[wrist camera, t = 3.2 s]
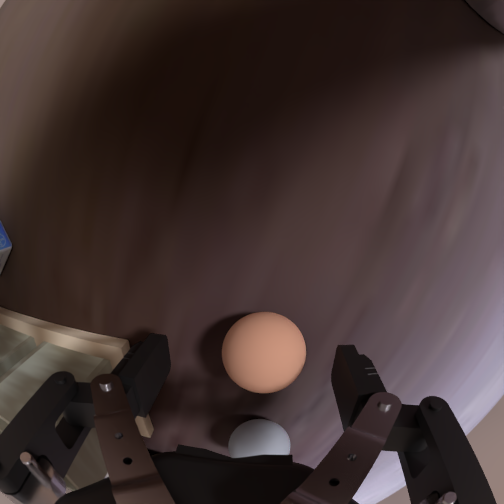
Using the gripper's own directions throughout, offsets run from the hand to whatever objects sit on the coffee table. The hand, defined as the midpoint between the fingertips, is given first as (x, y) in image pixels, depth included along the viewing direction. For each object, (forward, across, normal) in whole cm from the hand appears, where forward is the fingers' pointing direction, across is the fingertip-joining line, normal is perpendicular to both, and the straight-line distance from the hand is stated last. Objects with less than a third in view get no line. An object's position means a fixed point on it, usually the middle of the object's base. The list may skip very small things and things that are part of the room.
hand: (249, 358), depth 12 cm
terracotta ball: (+1, -1, 0) cm, 1 cm away
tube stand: (+3, +16, +6) cm, 18 cm away
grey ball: (+1, -1, +8) cm, 8 cm away
